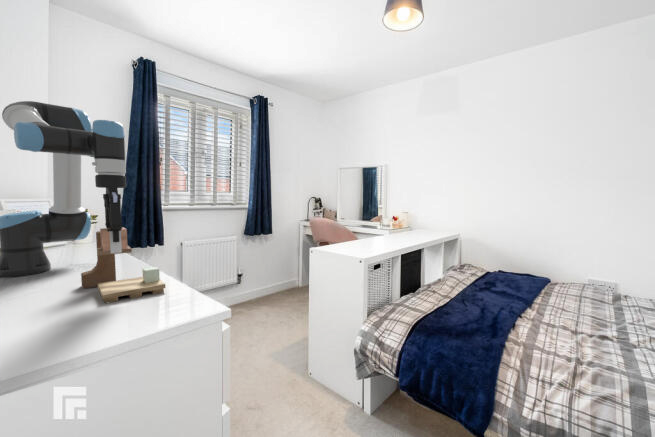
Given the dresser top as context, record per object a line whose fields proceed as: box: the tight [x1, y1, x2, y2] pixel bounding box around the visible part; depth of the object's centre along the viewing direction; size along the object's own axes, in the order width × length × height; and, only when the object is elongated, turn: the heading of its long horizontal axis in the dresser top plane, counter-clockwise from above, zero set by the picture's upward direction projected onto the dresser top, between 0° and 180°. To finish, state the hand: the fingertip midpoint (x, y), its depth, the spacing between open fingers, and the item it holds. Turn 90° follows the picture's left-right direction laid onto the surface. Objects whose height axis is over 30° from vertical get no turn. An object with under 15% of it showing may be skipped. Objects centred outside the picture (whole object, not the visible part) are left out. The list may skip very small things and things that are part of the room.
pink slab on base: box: [96, 226, 133, 256], centre depth 92 cm, size 6×8×7 cm
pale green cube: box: [142, 266, 161, 283], centre depth 99 cm, size 4×4×4 cm
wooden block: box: [80, 230, 117, 289], centre depth 102 cm, size 9×4×18 cm, turn 133°
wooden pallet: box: [97, 276, 166, 304], centre depth 96 cm, size 14×16×2 cm
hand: (114, 251), depth 92 cm, fingers closed on pink slab on base, 6 cm apart
